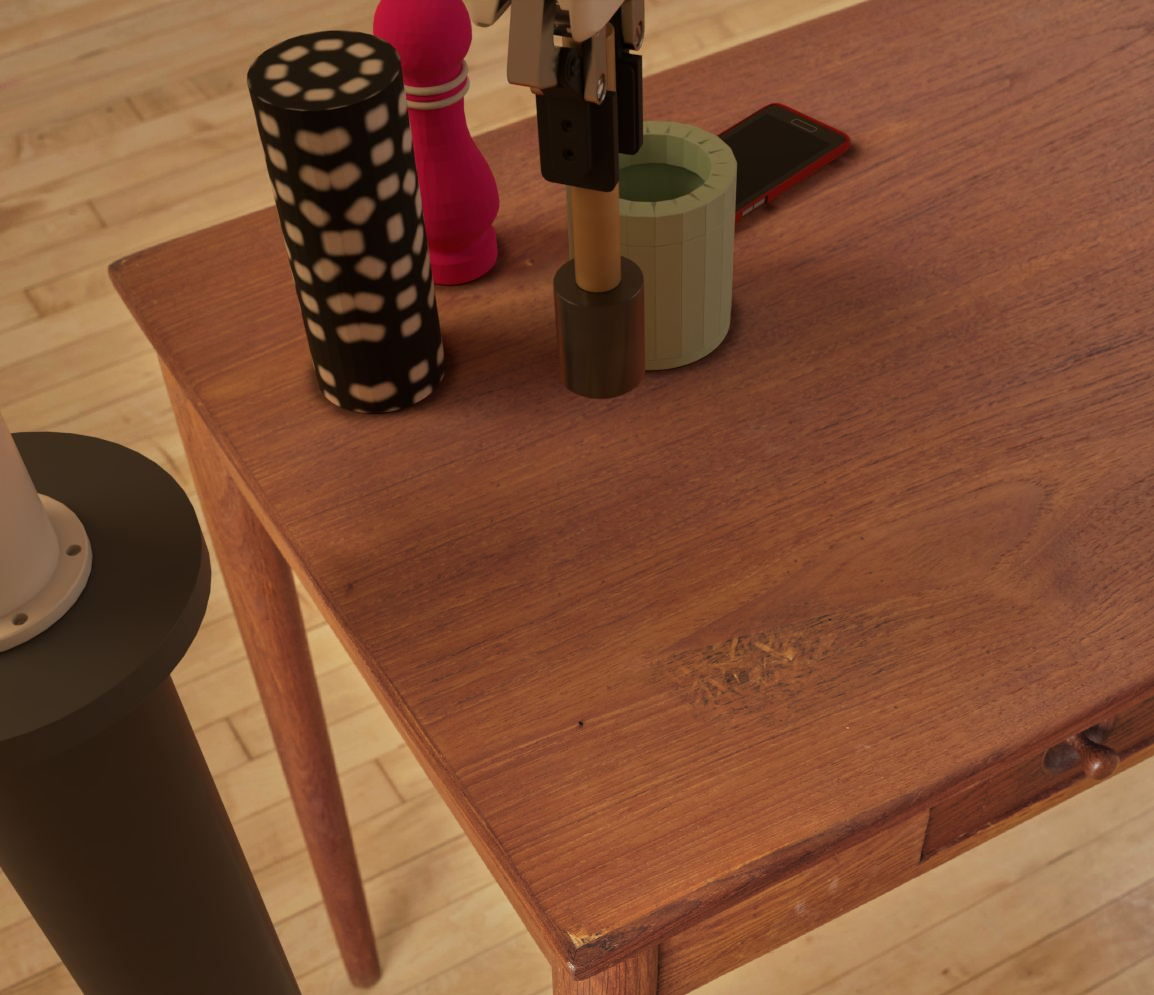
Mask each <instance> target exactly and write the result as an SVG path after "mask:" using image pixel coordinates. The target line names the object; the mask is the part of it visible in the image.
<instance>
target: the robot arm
mask: <svg viewBox="0 0 1154 995" xmlns="http://www.w3.org/2000/svg"><path fill="white" fill-rule="evenodd" d="M466 5H467V10H468V13H469V16H470V20H471V22H472V23H473V24H474V25H475V26H476V27H480V28H485V29H486V28H489V27H491V26H493V25H494V24H496V23H497V21H498V20H499V19H500V18H501V17H502V16H503V15H504V13H506V11H507V10H508V9H509V8H510V16H509V31H508V46H507V58H506V59H507V60H506V61H507V62H506V80H507V82H508V84H510V85H515V86H520V87H526V88H529V91H530V92H531V93H532V95H535V108H536V109H535V110H536V122H537V123H536V124H537V138H538V150H539V151H538V152H539V163H540V164H539V167H540V173H541V176H542V178H543V179H544V180H545V181H547V182H549V183H551V184H559V185H563V186H565V185H569V186H574V187H580V188H585V189H591V190H596V191H602V192H611V191H613V190H614V188H615V187H616V185H617V183H618V182H619V153H620V154H626V155H635V154H636V153H638V151H639V150H640V148H641V146H642V145H643V121H644V89H643V87H644V86H643V85H644V84H643V83H644V82H643V80H644V78H643V55H642V54H636V53H630V51H633V52H639V51H640V49H641V48H642V45H643V43H644V38H645V31H646V30H645V29H646V22H645V21H646V20H645V16H646V15H645V14H646V13H645V12H646V11H645V10H646V9H645V0H466ZM607 22H610V23H611V24H612V25H613V27H614V35H615V71H616V92H615V91H609V90H607V83H608V76H607V42H606V23H607ZM555 36H557V37H562V36H563V37H569V38H573V39H574V40H575V41H577V42H581V43H582V57H581V55H580V54H579V53H578V52H577V51H576V50H575V49H574V48H568V47H563V46H562V45H555V42H554V40H555V39H554V37H555ZM10 433H11V432H10V429H9V426H8V425H7V423H6V420H5V418H4V416H3V414H2V412H1V411H0V652H3V651H6V650H8V649H11V648H13V647H15V646H18V645H20V644H22V643H24V642H27V641H28V640H30V639H32V638H33V637H35V636H37V635H38V634H40V633H42V632H43V631H45V630H46V629H48V628H49V627H50V626H51V625H52V624H54V623H55V622H56V621H57V620H59V619H60V618H61V617H62V616H63V615H64V614H65V613H66V612H67V611H68V610H69V609H70V607H71V606H72V605H73V604H74V603H75V602H76V600H77V599H78V597H79V596H80V594H81V592H82V591H83V589H84V588H85V586H86V583H87V580H88V577H89V575H90V572H91V565H92V550H91V545H90V541H89V538H88V536H87V534H86V531H85V529H84V526H83V524H82V523H81V522H80V520H79V519H78V517H77V516H76V514H75V513H74V512H72V511H71V510H70V509H69V508H68V507H66V506H65V505H64V504H63V503H61V502H59V501H57V500H55V499H53V498H51V497H49V496H46V495H42V494H39V493H37V491H36V489H35V487H34V484H33V482H32V480H31V478H30V476H29V473H28V471H27V469H26V467H25V465H24V462H23V460H22V458H21V456H20V454H19V451H18V449H17V447H16V445H15V443H14V440H13V438H12V436H11V434H10Z"/></svg>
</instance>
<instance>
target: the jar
mask: <svg viewBox="0 0 1154 995" xmlns="http://www.w3.org/2000/svg"><path fill="white" fill-rule="evenodd" d="M736 178H737V162H736V159H735V157H734V155H733V152H732V150H731V148H730V147H729V146H728V145H727V144H726V143H724V142H723V141H722V140H721V139H720V138H719V137H718V136H717V134H714V133H712V132H709V131H707V130H705V129H703V128H700V127H698V126H696V125H693V124H692V125H691V124H687V123H683V122H677V121H668V120H667V121H665V120H662V121H661V120H643V145H642V146H641V148H640V150H639V151H638V153H636V154H635V155H626V154H620V153H619V216H620V252H621V256H623V257H626V258H628V259H630V260H632V261H633V262H635V263H636V264H637V265H638V266H639V267H640V269H641V270H642V273H643V275H644V311H645V371H662V370H670V369H675V368H680V367H683V366H687V365H689V364H692V363H695V362H697V361H699V360H701V359H703V358H705V357H706V356H708V355H709V354H711V353H712V352H714V351H715V350H716V349H717V348H718V347H719V346H720V345H721V344H722V342H723V341H724V340H725V338H726V336H727V335H728V332H729V330H730V326H731V313H732V302H733V298H732V297H733V278H734V277H733V276H734V275H733V274H734V252H735V251H734V250H735V229H736V228H735V227H736V226H735V225H736V223H735V203H736ZM564 188H565V202H566V220H567V236H568V251H569V252H568V253H569V254H568V255H569V260H571V259H573V258H574V242H573V225H572V207H571V189H570V186H569V185H564Z"/></svg>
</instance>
